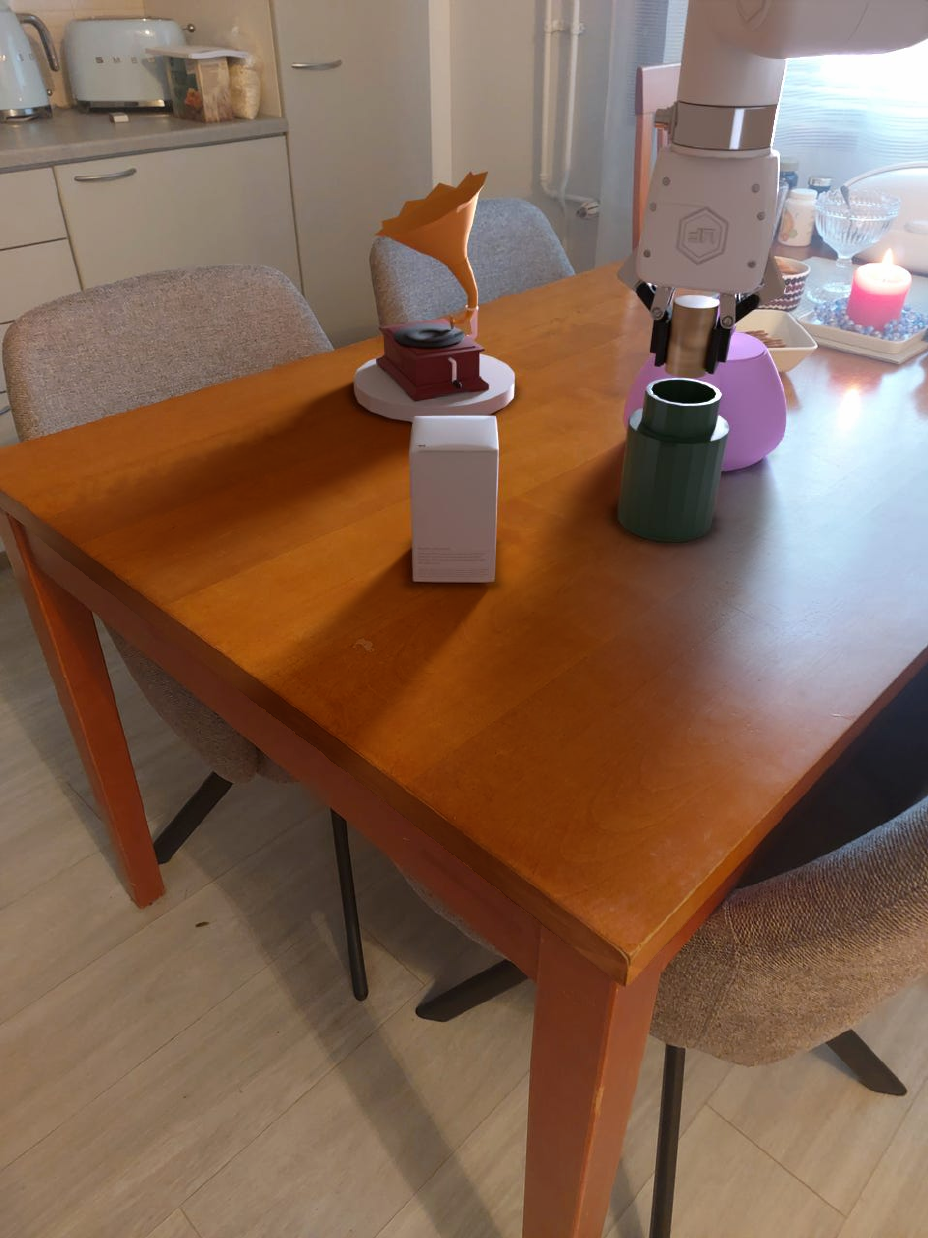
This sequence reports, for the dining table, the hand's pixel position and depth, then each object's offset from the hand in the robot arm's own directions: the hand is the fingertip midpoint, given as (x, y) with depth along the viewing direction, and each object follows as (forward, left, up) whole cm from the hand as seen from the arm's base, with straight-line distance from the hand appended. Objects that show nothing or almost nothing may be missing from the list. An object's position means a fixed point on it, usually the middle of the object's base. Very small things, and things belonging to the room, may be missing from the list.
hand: (686, 363), depth 78 cm
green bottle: (0, 0, -16) cm, 16 cm away
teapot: (0, -20, -16) cm, 25 cm away
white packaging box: (+16, +15, -16) cm, 27 cm away
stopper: (0, 0, -1) cm, 1 cm away
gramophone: (+34, -22, -16) cm, 43 cm away
